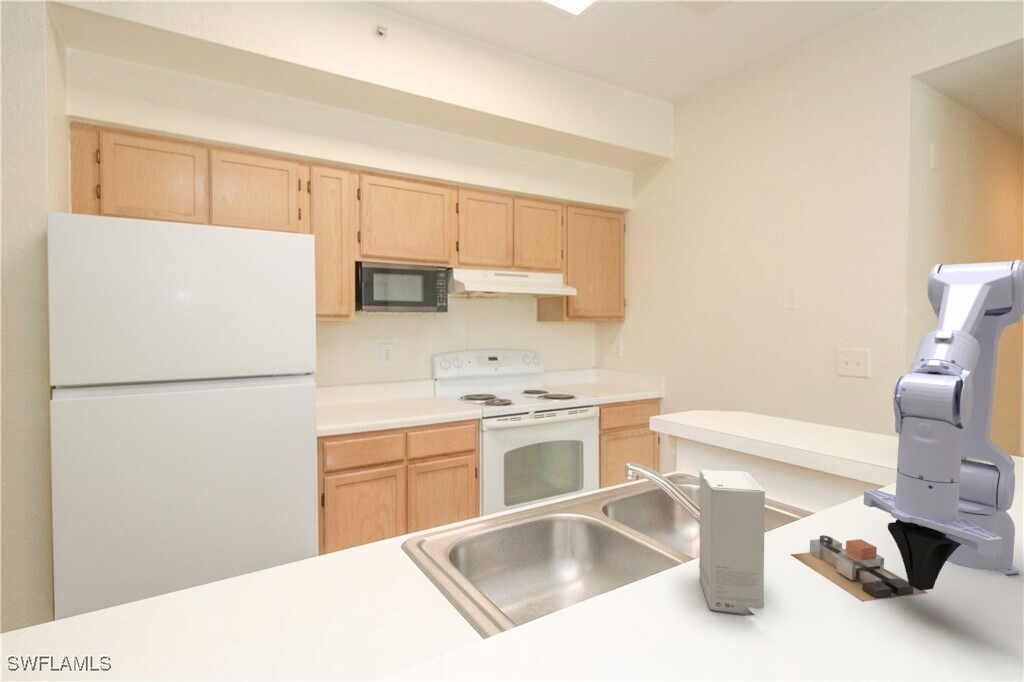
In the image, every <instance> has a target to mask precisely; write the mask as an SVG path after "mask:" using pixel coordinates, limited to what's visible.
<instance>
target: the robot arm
mask: <svg viewBox="0 0 1024 682" xmlns="http://www.w3.org/2000/svg"><path fill="white" fill-rule="evenodd" d="M927 298H928V301H929V303H930V304H931V307H932V310H933V312H934V314H935V315H936V318H937V324H936V329H935V330H932V331H929V332H928V333H926V334H925V335H924V336H923V337H922V338H921V340H920V342H919V346H918V348H917V351H916V353H915V356H914V359H913V361H912V364H911V366H910V369H909V372H908V373H906V375H905V376H904V375H899V376H898V377H897V379H896V381H895V385H894V387H893V388H894V389H893V393H892V394H893V395H892V399H893V400H892V406H893V414H894V417H895V419H894V421H895V422H894V429H895V433H897V434H898V447H897V463H896V464H897V465H896V481H895V482H896V483H895V484H896V485H895V495H894V494H891V493H888V492H885V491H881V490H879V489H867V490H866V489H865V490H864V492H863V505H864V506H867V507H869V508H876V509H879V510H881V511H883V512H885V513H888V514H890V517H892V518H893V519H896V520H895V521H894V522H888V523H887V530H888V532H889V534H891V537H892V538H893V540H894V542H895V543H896V546H897V549H898V550H899V553H900V556H901V559H902V562H903V565H904V568H905V569H904V570H905V573H906V576H907V577H906V578H907V581H908V582H909V585H911V586H912V587H914V588H916V589H918V590H924V591H926V590H927V591H928V590H933V589H934V587H935V584H936V582H937V579H938V577H939V575H940V573H941V571H942V569H943V566H944V565H945V563H946V562H949V563H951V564H954V565H957V566H960V567H961V566H962V567H965V568H970V569H971V568H972V569H978V570H989V569H991V570H993V571H996V572H997V573H1000V574H1002V575H1005V576H1007V575H1014V574H1020V573H1021V572H1020V569H1019V568H1018V567H1015V566H1013V565H1014V564H1013V562H1014V551H1015V539H1016V537H1015V536H1016V527H1015V523H1014V520H1013V518H1012V517H1011V515H1010V514H1009V513H1008V512H1007V511H1008V510H1010V509H1012V506H1013V503H1014V497H1015V496H1014V495H1015V491H1016V489H1015V488H1016V487H1015V486H1016V475H1015V474H1016V473H1015V464H1016V463H1015V460H1014V459H1013V457H1012V455H1010V454H1009V453H1008V452H1007V451H1005V450H1004V449H1003V448H1001V447H1000V446H998V445H997V444H996V443H994V442H993V441H992V440H991V438H990V437H991V426H992V416H993V415H992V414H993V406H994V405H993V403H994V396H995V395H994V394H995V385H996V373H997V361H998V352H999V351H998V350H999V342H1000V340H1001V337H1002V335H1003V332H1004V330H1005V328H1006V327H1007V326H1010V325H1014V324H1017V323H1020V322H1022V320H1023V316H1024V261H1023V259H1015V261H1014V260H1013V261H1012V260H1009V261H995V262H993V261H992V262H991V261H990V262H975V263H974V262H973V263H972V262H970V263H955V264H953V263H952V264H942V263H937V264H935V265H934V267H932V268H931V269H930V272H929V274H928V280H927ZM961 456H962V457H966V460H963V459H961ZM967 458H968V459H974V460H979V462H978V461H974V460H973V461H972V460H968V459H967ZM980 461H985V462H988V463H984V462H980ZM990 463H991V464H990Z"/></svg>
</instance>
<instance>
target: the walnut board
mask: <svg viewBox="0 0 1024 682" xmlns="http://www.w3.org/2000/svg"><path fill="white" fill-rule="evenodd" d="M844 549H845V550H846V548H844ZM790 556H792V558H795V559H796V560H797V561H800V563H802V564H804V565H805V566H807V567H809V568H810V569H812V570H813V571H815V572H816V573H817V574H819V575H821V576H822V577H824V578H825V579H827V580H828V581H830V582H832V583H833V584H834V585H836V586H837V587H839V588H840V589H841V590H843V591H845V592H847V593H849V594H850V595H851V596H853V597H855V598H856V599H858V600H859V601H861V602H867V601H868V602H869V601H870V602H871V601H877V600H886V599H893V598H894V599H895V598H898V597H899V598H900V597H908V596H916V595H917V596H918V595H923V594H928V593H929V592H928V591H926V590H918V589H916V588H914V587H913V594H906V595H898V596H897V595H896V594H894V593H892V592H891V596H890V597H882V598H874V597H872V596H870V595H869V594H867V593H866V592H864V591H862V586H863V584H861V583H859V582H858V581H856V580H850V579H849V578H847V577H845V576H844V575H842V574H840V573H839V572H837V568H835V567H833V566H832V565H830V564H828V563H827V562H825V561H823V560H822V559H818V558H816V557H815V556H813V555H812V554H810V551H809V552H802V553H794V554H793V553H791V554H790ZM884 572H886V573H888V574H890V575H891V576H893V577H895V578H896V579H902V580H904V581H905V582H907V583H909V582H908V580H907V579H904V578H902V577H900V576H898V575H897V574H895V573H894V572H891V571H889V570H888V569H886V568H884Z"/></svg>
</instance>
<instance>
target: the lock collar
mask: <svg viewBox="0 0 1024 682" xmlns="http://www.w3.org/2000/svg"><path fill="white" fill-rule="evenodd" d="M845 542H846V543H845V549H846V552H841V553H838V555H837V572H839V573H840V574H842V575H844V576H845V577H847V578H849V579H850V580H856V568H864V567H873V566H875V567H877V568H879V569H881V570H882V571H884V569H885V568H884V567H885V557H883V556H881V555H879V554H877V552H878V551H877V550H878V548H877V546H875V545H874V544H872V543H869V542H867V541H866V540H863V539H862V538H861V539H850V540H846V541H845Z"/></svg>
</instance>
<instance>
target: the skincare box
mask: <svg viewBox="0 0 1024 682" xmlns="http://www.w3.org/2000/svg"><path fill="white" fill-rule="evenodd" d="M765 496H766V490H765V489H764V488H763V487H762V486H761V485H760V484H759V483H758V482H757V481H756V480H755V479H754V478H753V476H752V475H751V474H750V473H749V472H748V471H741V470H716V469H715V470H711V469H699V565H698V566H699V570H698V571H699V574H698V575H699V577H698V579H699V581H700V584H701V586H702V587H701V588H702V591H703V593H704V596H705V598H706V602H707V604H708V607H709V610H710V611H715V612H721V613H722V612H723V613H732V614H739V615H740V614H741V615H750V616H755V613H753V611H751V610H750V609H749V608H752V609H753V608H754V609H755V608H756V609H764V608H765V607H764V606H765V605H764V604H765V603H764V602H765V601H764V600H765V598H764V595H765V594H764V593H765V591H764V589H765V588H764V587H765V586H764V585H765V582H764V581H765V577H764V576H765V509H766V508H765V505H766V504H765V503H766V501H765V499H766V497H765Z"/></svg>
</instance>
